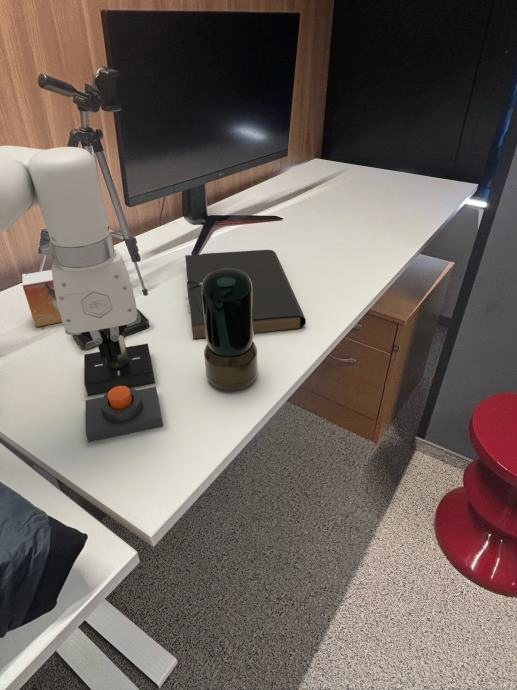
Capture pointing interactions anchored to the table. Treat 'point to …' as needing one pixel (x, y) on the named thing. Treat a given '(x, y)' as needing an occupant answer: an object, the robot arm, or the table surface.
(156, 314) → the table surface
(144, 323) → the phone
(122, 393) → the button
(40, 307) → the small box
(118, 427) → the button block
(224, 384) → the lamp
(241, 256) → the dark brown book
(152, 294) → the table surface
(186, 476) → the table surface
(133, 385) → the dial panel
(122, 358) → the dial
